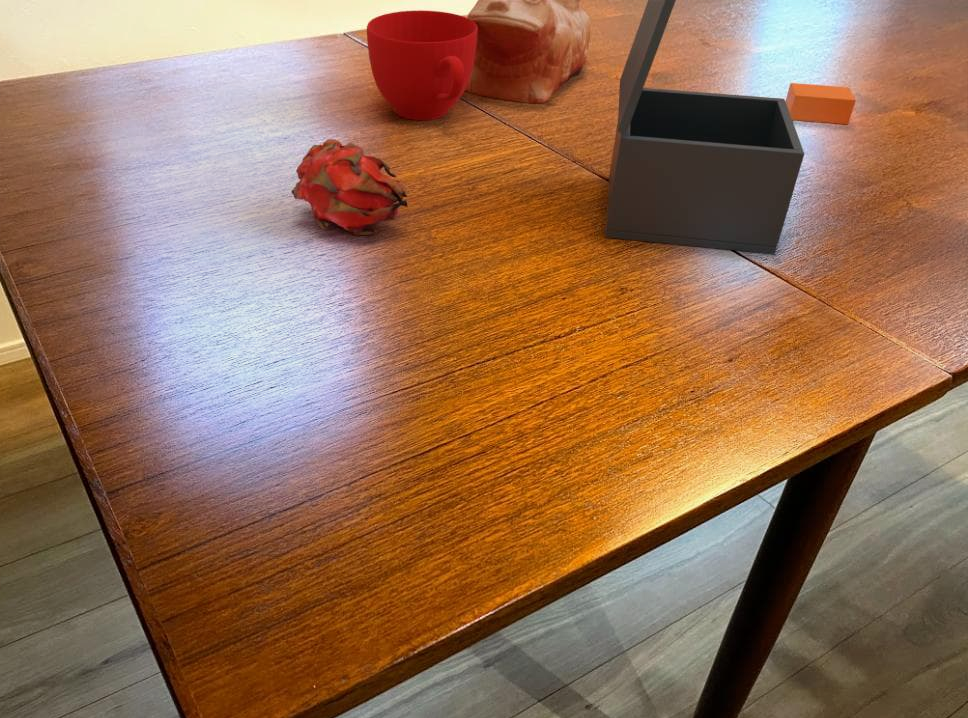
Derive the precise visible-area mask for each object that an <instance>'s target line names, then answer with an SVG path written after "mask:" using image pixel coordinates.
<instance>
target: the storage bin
mask: <svg viewBox="0 0 968 718" xmlns="http://www.w3.org/2000/svg"><path fill="white" fill-rule="evenodd" d="M785 101H786V98H779V97H768V96H756V95H755V96H754V95H743V94H742V95H741V94H731V93H730V94H729V93H716V92H714V93H713V92H705V91H703V92H702V91H691V90H690V91H689V90H678V89H677V90H676V89H664V88H651V87H643V90H642V92H641V95H640V98H639V101H638V103H637V106H636V109H635V111H634V114H633V117H632V119H631V122H630V125H629V127H628V130H627V133H626V134H625V133H621V132H618V121H617V122H616V128H615V129H616V130H615V136H614V141H613V142H614V143H613V148H612V155H611V162H610V169H609V175H608V189H607V202H606V220H605V221H606V222H605V238H607V239H619V240H626V241H627V240H628V241H629V240H630V241H636V242H637V241H638V242H648V243H649V242H650V243H658V244H667V245H668V244H669V245H679V246H688V247H699V248H709V249H718V250H726V251H738V252H747V253H757V254H767V255H776V253H777V252H776V251H777V248H778V245H779V241H780V238H781V234H782V231H783V228H784V224H785V221H786V218H787V215H788V211H789V207H790V204H791V201H792V197H793V194H794V192H795V191H794V190H795V187H796V184H797V181H798V178H799V174H800V171H801V167H802V164H803V160H804V157H805V151H804V149H803V145H802V143H801V139H800V138H799V137H800V136H799V135H798V132H797V130H796V127H795V124H794V120H792V118H791V115H790V113H789V110H788V107H787V104H786V102H785Z"/></svg>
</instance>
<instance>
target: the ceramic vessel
mask: <svg viewBox="0 0 968 718" xmlns="http://www.w3.org/2000/svg"><path fill="white" fill-rule="evenodd" d="M580 2H581V0H477V2H476V3H475V4H474V6H473V8H471V10H470V11H469V12H468V14H467V18H468V19H470V20H472V21H473V22H475V23H476V25H477V27H478V32H477V43H476V52H475V59H474V64H473V69H472V73H471V77H470V80H469V82H468V85H467V87H466V89H465V91H464V92H467V93H471V94H476V95H479V96H484V97H486V98H491V99H492V98H493V99H497V100H504V101H511V102H518V103H519V102H520V103H526V104H535V105H536V104H544V103H548V102H550V100H551V98H552V96H553V95H554V93H555V92H557V91H559V90H560V88H561V87H562V86H563V85H564V84H565V83H567V82H568V81H569V80H571V79H572V78H573V77H575V76H578V75H579V74H580V73H581V72H582V69H583V67H584V65H585V63H586V61H587V60H588V50H589V45H590V40H591V31H592V28H591V21H590V18H589V16H588V14H587V12H585V11H584V10H583V9H581V8H580Z"/></svg>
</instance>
